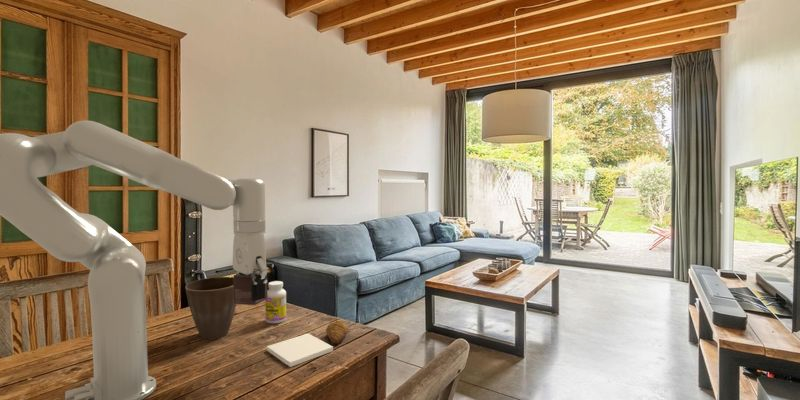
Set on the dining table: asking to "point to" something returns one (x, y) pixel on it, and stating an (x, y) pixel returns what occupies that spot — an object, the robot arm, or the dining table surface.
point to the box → (245, 289)
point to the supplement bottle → (275, 303)
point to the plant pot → (212, 305)
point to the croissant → (336, 331)
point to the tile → (299, 349)
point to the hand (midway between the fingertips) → (250, 295)
